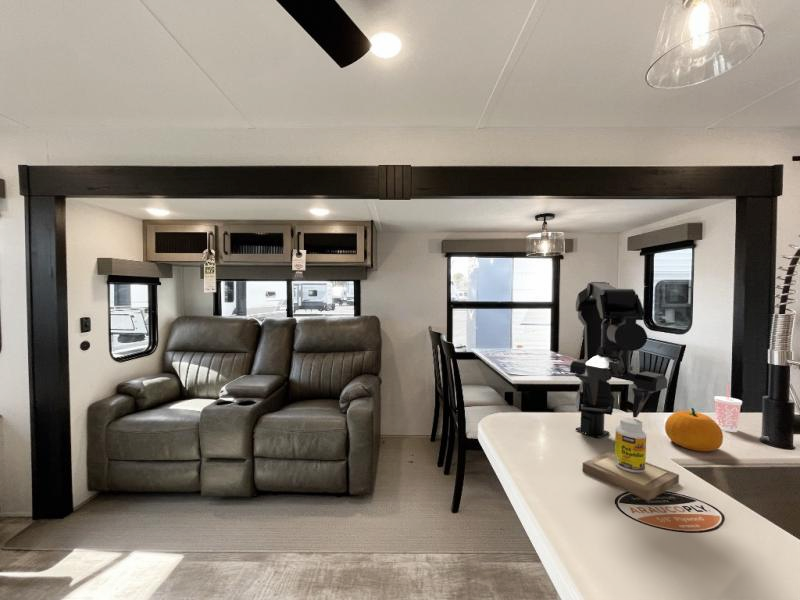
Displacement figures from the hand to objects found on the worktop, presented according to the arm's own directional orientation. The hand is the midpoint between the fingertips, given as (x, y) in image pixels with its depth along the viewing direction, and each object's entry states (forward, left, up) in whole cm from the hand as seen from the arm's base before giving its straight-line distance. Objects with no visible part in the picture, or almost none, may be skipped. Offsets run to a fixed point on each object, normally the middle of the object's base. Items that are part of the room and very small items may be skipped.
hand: (613, 410), depth 80 cm
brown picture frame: (+2, +5, -13) cm, 14 cm away
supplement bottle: (+2, +5, -11) cm, 12 cm away
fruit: (-30, +5, -13) cm, 33 cm away
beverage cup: (-54, +5, -13) cm, 56 cm away
